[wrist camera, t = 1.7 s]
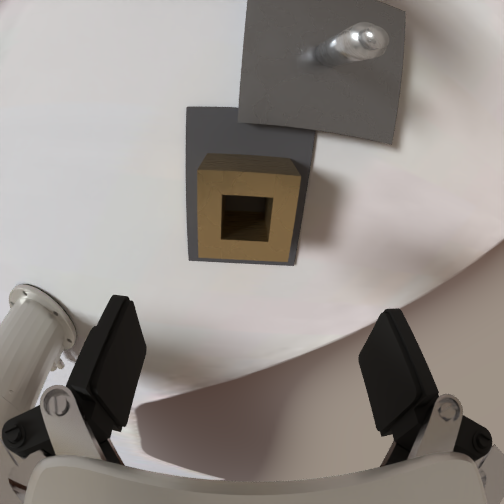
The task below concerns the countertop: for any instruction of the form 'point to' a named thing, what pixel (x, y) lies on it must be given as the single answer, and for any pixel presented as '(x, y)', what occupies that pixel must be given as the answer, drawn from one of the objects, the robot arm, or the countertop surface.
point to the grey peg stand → (323, 66)
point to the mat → (245, 143)
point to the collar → (245, 222)
